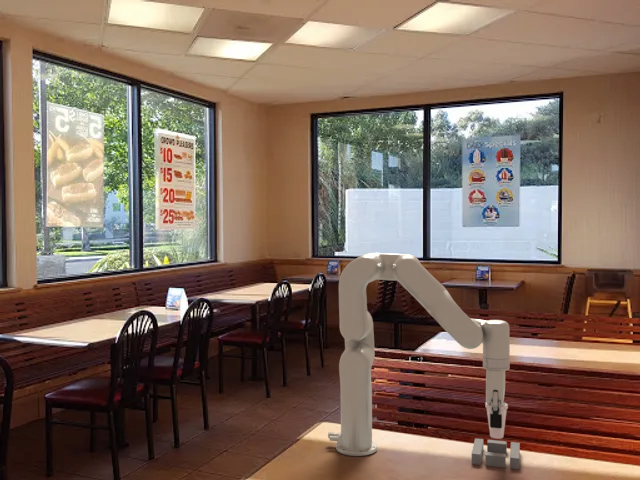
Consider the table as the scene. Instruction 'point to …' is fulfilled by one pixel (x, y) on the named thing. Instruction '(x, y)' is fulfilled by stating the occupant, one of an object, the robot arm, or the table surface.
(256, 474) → the table surface
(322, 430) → the table surface
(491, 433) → the smoothie
